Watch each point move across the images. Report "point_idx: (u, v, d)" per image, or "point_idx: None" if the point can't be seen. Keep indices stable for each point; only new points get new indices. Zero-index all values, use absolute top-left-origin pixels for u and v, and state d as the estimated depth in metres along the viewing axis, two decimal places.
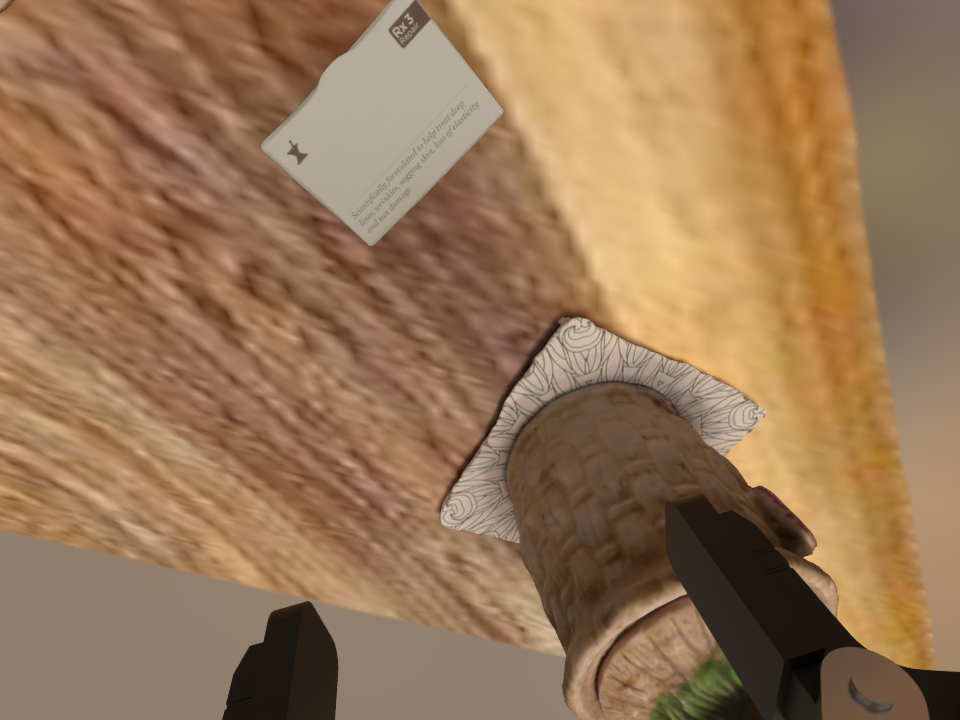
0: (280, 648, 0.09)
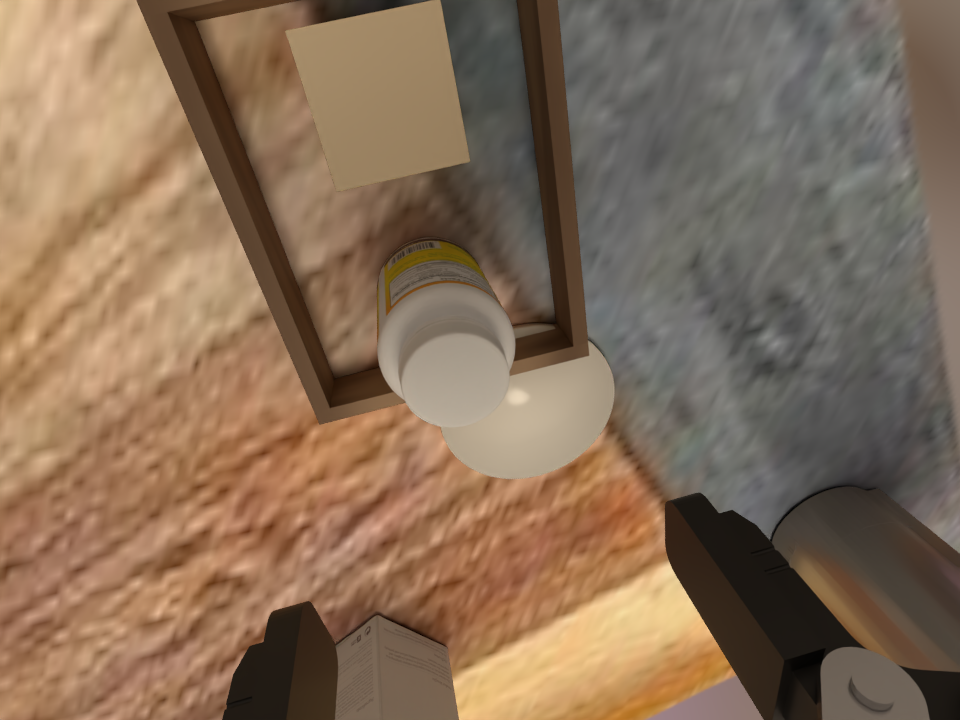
0: (280, 648, 0.09)
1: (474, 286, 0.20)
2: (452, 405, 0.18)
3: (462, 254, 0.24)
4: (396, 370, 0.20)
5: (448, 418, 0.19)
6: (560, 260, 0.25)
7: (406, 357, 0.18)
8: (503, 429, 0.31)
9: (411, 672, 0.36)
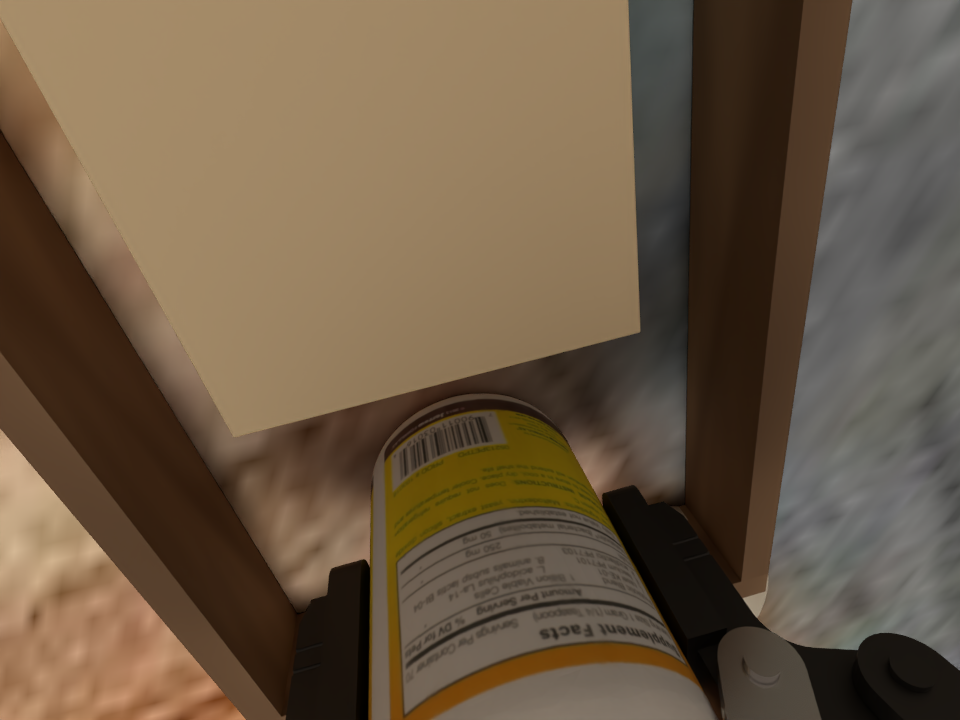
0: (344, 599, 0.10)
1: (634, 655, 0.07)
2: None
3: (548, 449, 0.11)
4: None
5: None
6: (736, 441, 0.13)
7: None
8: None
9: None
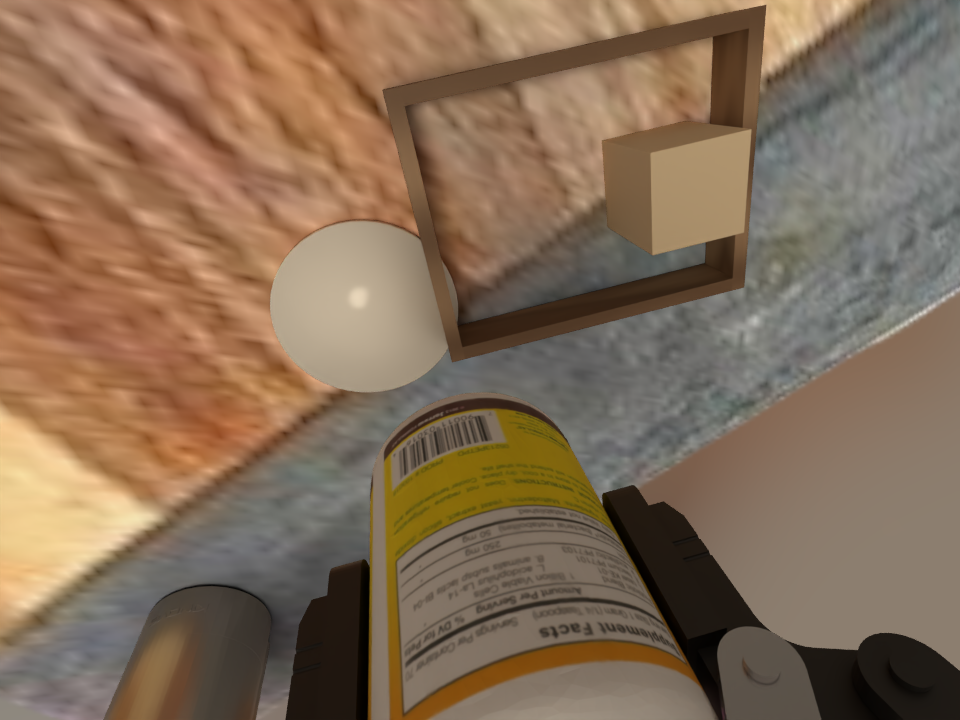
0: (344, 599, 0.10)
1: (634, 653, 0.07)
2: None
3: (548, 448, 0.11)
4: None
5: None
6: (533, 323, 0.31)
7: None
8: (341, 291, 0.29)
9: None
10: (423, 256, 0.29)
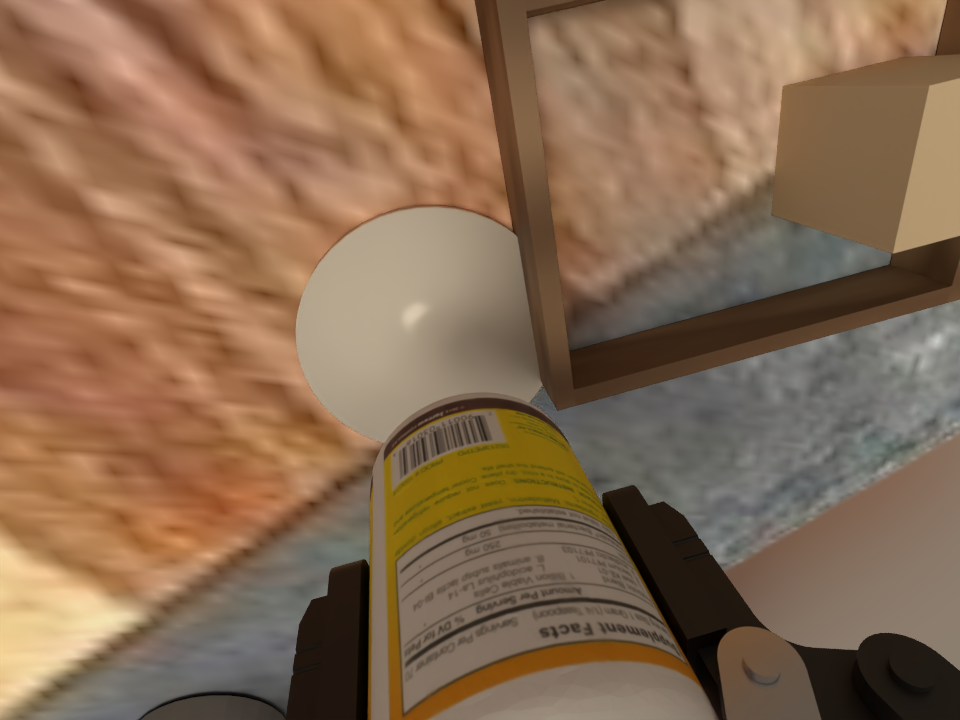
0: (344, 599, 0.10)
1: (634, 653, 0.07)
2: None
3: (548, 448, 0.11)
4: None
5: None
6: (670, 353, 0.22)
7: None
8: (399, 310, 0.20)
9: None
10: (518, 258, 0.20)
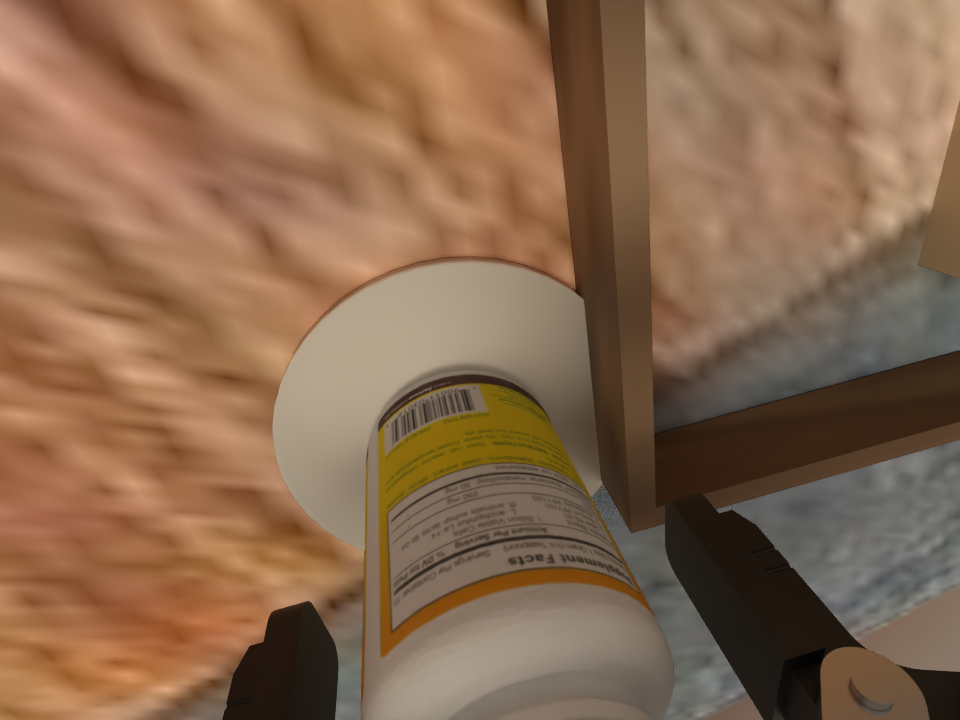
0: (280, 648, 0.09)
1: (589, 578, 0.08)
2: None
3: (526, 417, 0.12)
4: None
5: None
6: (782, 452, 0.16)
7: None
8: None
9: None
10: (583, 329, 0.14)
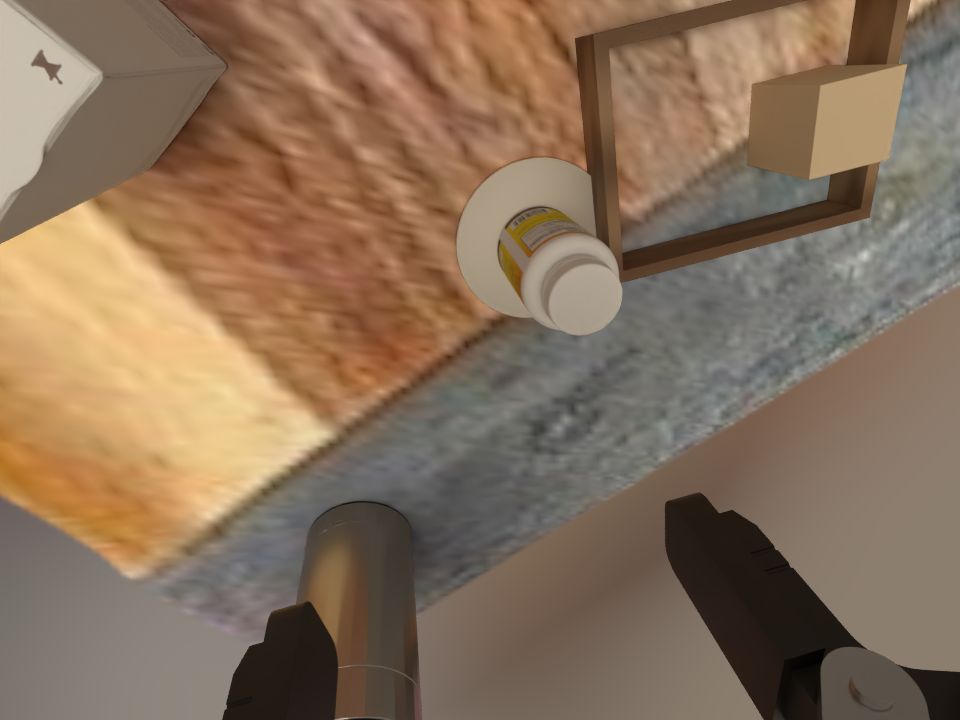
0: (280, 648, 0.09)
1: (591, 235, 0.27)
2: (581, 318, 0.26)
3: (568, 217, 0.31)
4: (536, 297, 0.27)
5: (577, 328, 0.26)
6: (682, 251, 0.35)
7: (552, 283, 0.25)
8: None
9: (175, 116, 0.25)
10: (590, 190, 0.33)
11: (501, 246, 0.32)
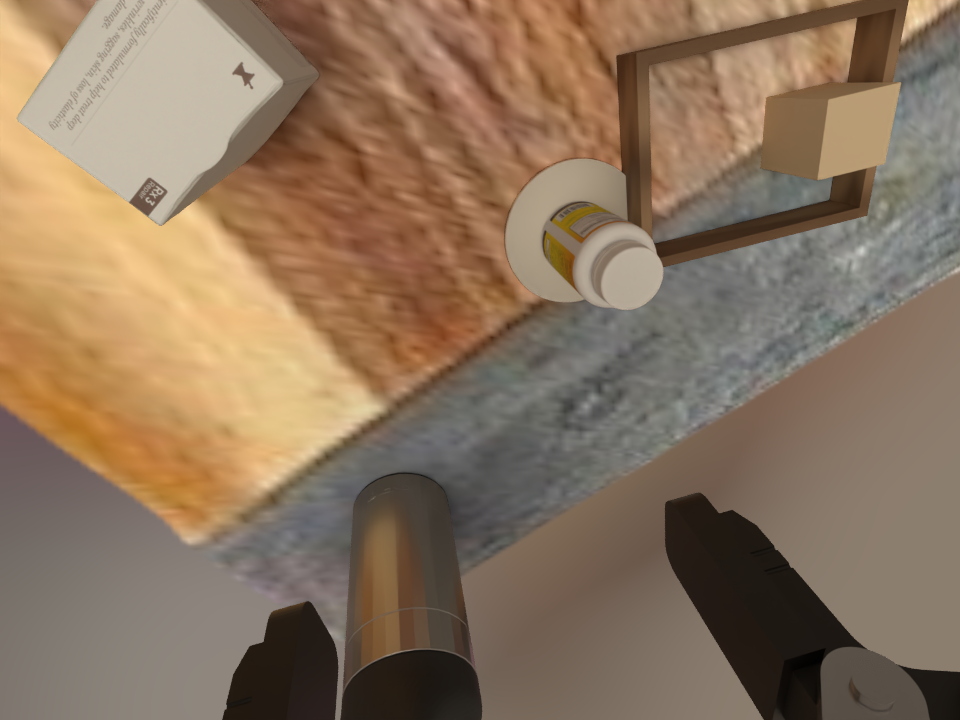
0: (280, 648, 0.09)
1: (634, 224, 0.32)
2: (628, 294, 0.31)
3: None
4: (587, 277, 0.32)
5: (624, 303, 0.31)
6: (703, 243, 0.39)
7: (605, 263, 0.30)
8: None
9: (281, 117, 0.29)
10: (625, 188, 0.38)
11: (547, 236, 0.37)
